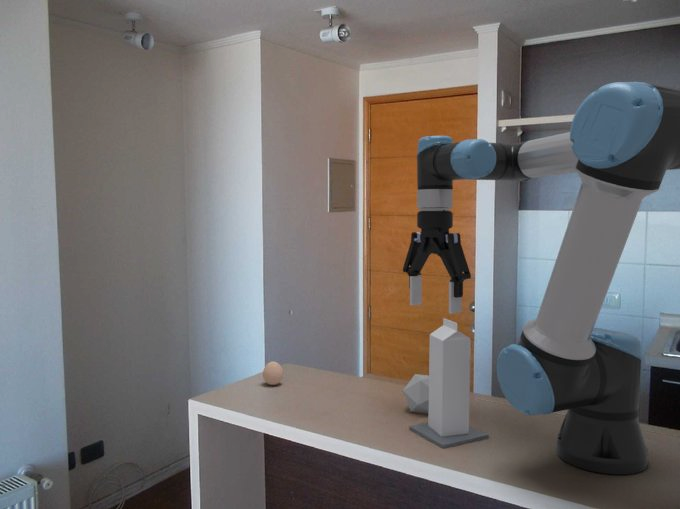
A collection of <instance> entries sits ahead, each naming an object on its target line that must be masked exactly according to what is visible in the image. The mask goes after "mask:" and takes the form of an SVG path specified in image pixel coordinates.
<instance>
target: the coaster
mask: <svg viewBox="0 0 680 509" xmlns="http://www.w3.org/2000/svg"><path fill="white" fill-rule="evenodd" d="M408 429H409V430H410V431H411V432H413V433H415V434H417V435H419V436H420V437H422V438H424V439H426V440H428V441H429V442H431V443H433V444H435V445H437V446H438V447H440V448H442V449H447V448H450V447H454V446H459V445H463V444H468V443H471V442H477V441H480V440H485V439H488V438H489V434H488V433H486V432H484V431H481V430H479V429H477V428H475V427H473V426H472V425H469V434H463V435H454V436H446V437H441V436H440V435H438V434H437V433H436V432H435V431H433V430H432V429H431V428H430V427H429V426H428V422H424V423H419V424H414V425H409V427H408Z"/></svg>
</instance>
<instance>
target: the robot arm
mask: <svg viewBox="0 0 680 509" xmlns="http://www.w3.org/2000/svg"><path fill="white" fill-rule="evenodd" d="M416 170H417V171H416V173H417V174H416V176H417V177H416V179H417V180H416V182H417V183H416V184H417V185H416V187H417V192H416V208H417V209H419V211H417V213H416V215H417V216H416V218H417V219H416V227H417V228H418V229H420V231H412V232H411V236H410V242H409V246H408V250H407V254H406V257H405V261H404V264H403V267H402V272H403V273H406V274H407V276H408V279H409V280H408V286H409V288H408V289H409V306H421V305H422V304H423V303H422V302H423V301H422V300H423V299H422V298H423V297H422V296H423V295H422V294H423V291H422V290H423V289H422V287H423V284H422V282H423V281H422V280H423V279H422V272H421V271H422V270H423V268H424V266H425V264H426V262H427V260H428V258H429V257H430V255H432V254H433V255H437V256H438V257H439V258H440V259H441V261H442V264H443V266H444V267H445V269H446V271H447V274H448V275H449V277H450V279H449V281H448V314H451V315H452V314H453V315H454V314H461V313H462V310H463V309H462V307H463V306H462V304H463V303H462V298H463V296H464V281H466V280H469V279H471V277H472V275H471V270H470V268H469V266H468V261H467V259H466V255H465V253H464V249H463V247H462V244H461V242H462V241H461V234H460V233H459V232H451V233H450V229H452V228H453V227H454V226H453V223H454V222H453V221H454V220H453V219H454V218H453V217H454V213H453V211H452V210H450V209H452V208H453V206H454V202H453V200H454V198H453V197H454V196H453V194H454V193H453V191H454V190H453V189H454V181H461V180H463V181H464V180H465V181H466V180H469V181H470V180H473V181H512V182H518V183H519V182H529V181H531V182H532V181H535V180H537V179H538V178H543V177H549V176H560V175H565V174H566V175H567V174H574V173H576V174H577V175H578V177H579V178H580V182H581V185H580V187H579V190H578V194H577V197H576V198H575V199H576V200H575V203H574V205H573V209H572V212H571V214H570V218H569V220H568V224H567V226H566V229H565V232H564V235H563V239H562V241H561V244H560V247H559V251H558V252H557V257H556V259H555V263H554V265H553V268H552V271H551V274H550V277H549V280H548V282H547V286H546V289H545V292H544V295H543V298H542V302H541V304H540V306H539V310H538V313H537V317H536V318H534V319H531V320H528V321H527V322H526V323H525V324H524V325H523V327H522V331H521V334H520V336H519V340H518V343H517V344H516V343H512V344H509V345H508V346H506V347H504V348H502V349H501V351H500V353H499V354H498V356H497V359H496V377H497V380H498V383H499V386H500V390H501V392H502V394H503V395H504V397H505V399H506V401H507V402H508V403H509V404H510V405H511V406H512V407H513V408H514V409H515V410H516V411H518V412H520V413H522V414H523V415H527V416H537V415H539V416H540V415H542V416H546V415H550V414H552V413H558V412H562V411H566V414H565V416H564V419H563V422H562V423H561V427H560V430H559V432H558V434H557V436H556V445H555V451H556V455H557V456H558V458H560V459H561V460H562V461H564V462H566V463H567V464H570V465H572V466H574V467H576V468H579V469H582V470H585V471H590V472H594V473H599V474H605V475H632V474H637V473H640V472H641V473H642V472H643V471H644V470H646V469H647V468H648V466H647V465H648V464H649V452H648V451H649V449H648V448H647V446H646V443H645V438H644V435H643V432H642V427H641V424H640V421H639V414H640V413H639V411H640V410H639V408H640V394H641V393H640V390H641V375H642V374H641V371H642V361H643V357H642V343H641V341H640V340H639V338H638V337H636V336H635V335H633V334H629V333H627V332H623V331H618V330H617V331H616V330H612V329H607V328H606V329H605V328H602V327H601V328H600V327H595V325H596V323H597V320H598V318H599V315H600V313H601V310H602V306H603V305H604V302H605V299H606V297H607V294H608V291H609V289H610V286H611V283H612V281H613V279H614V275H615V273H616V270H617V267H618V266H619V262H620V259H621V257H622V255H623V252H624V249H625V246H626V243H627V242H628V238H629V236H630V233H631V231H632V228H633V226H634V224H635V220H636V217H637V215H638V212H639V209H640V207H641V204H642V202H643V200H644V199H645V198H646V197H647V196H650V195H652V194H654V193H656V192H658V191H659V190H660V188H661V184H662V181H663V180H664V177H665V174H666V171H668V170H673V171H674V170H680V88H678V87H671V86H665V85H659V84H653V83H652V84H651V83H646V82H645V81H643V82H642V81H641V82H639V81H617V82H611V83H607V84H604V85H603V86H601V87H599V88H598V89H596V90H595V91H593V92H591V93H590V94H588V96H586V97H585V99H584V100H583V101H582V103H580V105H579V106H578V108H577V110H576V111H575V114H574V117H573V118H572V122H571V125H570V130H569V131H568V132H563V133H558V134H554V135H549V136H545V137H541V138H539V137H538V138H536V139H531V140H525V141H521V142H516V143H498V142H488V141H487V140H485V139H482V138H476V139H475V138H474V139H473V138H472V139H471V138H469V139H468V138H467V139H465V140H462V141H458V142H457V141H456V142H454V139H453V138H452V137H451V136H449V135H430V136H423V137H421V138H419V140H418V142H417V154H416ZM646 467H647V468H646Z"/></svg>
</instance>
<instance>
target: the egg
mask: <svg viewBox="0 0 680 509" xmlns="http://www.w3.org/2000/svg"><path fill="white" fill-rule="evenodd" d="M262 378H263V381H265V383H266V384H268V385H270V386H275V385H276V386H277V385H278V384H280V382H281V381H282V380H283V378H284V371H283V368H282V365H280V363H278V362H276V361H270V362H268V363H266V365H265V366H264V367H263V371H262Z"/></svg>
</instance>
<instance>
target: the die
mask: <svg viewBox="0 0 680 509" xmlns="http://www.w3.org/2000/svg"><path fill="white" fill-rule="evenodd" d="M402 391H403V392H402V393H403V395H404V397H405V400H406V403H407V405H408V408H409V411H410V412H411V413H418V414H425V415H428V414H429V374H428V375H427V374H418V373H417V374H416V373H414V375H413V376H412V378H411V379H410V380H409V382H407V384H406V386H405V388H404V389H403V390H402Z"/></svg>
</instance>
